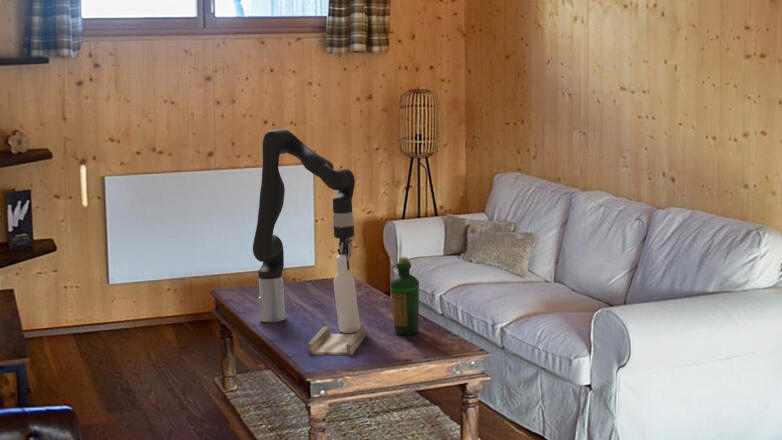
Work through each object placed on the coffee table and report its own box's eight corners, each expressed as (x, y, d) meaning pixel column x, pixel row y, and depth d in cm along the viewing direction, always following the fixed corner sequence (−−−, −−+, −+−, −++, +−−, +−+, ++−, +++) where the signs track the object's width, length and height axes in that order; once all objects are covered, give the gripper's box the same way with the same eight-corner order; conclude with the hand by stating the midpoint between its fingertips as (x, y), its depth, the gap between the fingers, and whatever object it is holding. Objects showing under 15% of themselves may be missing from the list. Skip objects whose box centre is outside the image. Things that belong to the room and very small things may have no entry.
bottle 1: (357, 333, 399) (349, 261, 387) (336, 333, 401) (327, 261, 388) (362, 323, 406) (353, 251, 394) (341, 322, 408) (332, 251, 395)
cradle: (308, 354, 377) (307, 344, 377) (324, 335, 398) (323, 326, 398) (352, 354, 374) (352, 344, 373) (366, 336, 395) (366, 326, 395)
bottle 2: (391, 329, 402) (387, 256, 397) (419, 327, 403) (416, 254, 398) (393, 337, 392) (389, 262, 387) (422, 335, 392) (419, 260, 387)
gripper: (337, 220, 403) (340, 266, 406) (329, 227, 390) (332, 274, 393) (357, 220, 402) (360, 266, 405) (349, 227, 389) (352, 274, 392)
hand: (346, 270), depth 399 cm, fingers closed
